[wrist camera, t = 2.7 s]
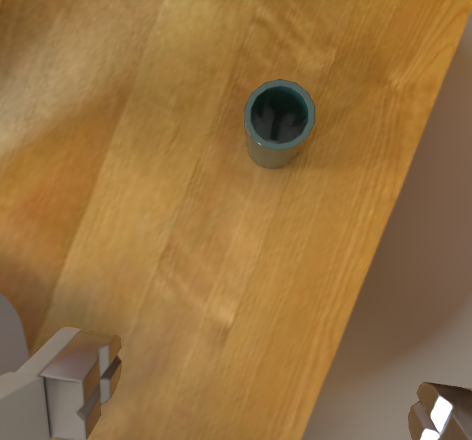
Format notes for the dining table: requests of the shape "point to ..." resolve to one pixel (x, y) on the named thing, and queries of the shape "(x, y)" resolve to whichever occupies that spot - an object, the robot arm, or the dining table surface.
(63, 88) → the dining table surface
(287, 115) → the pot
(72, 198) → the dining table surface
